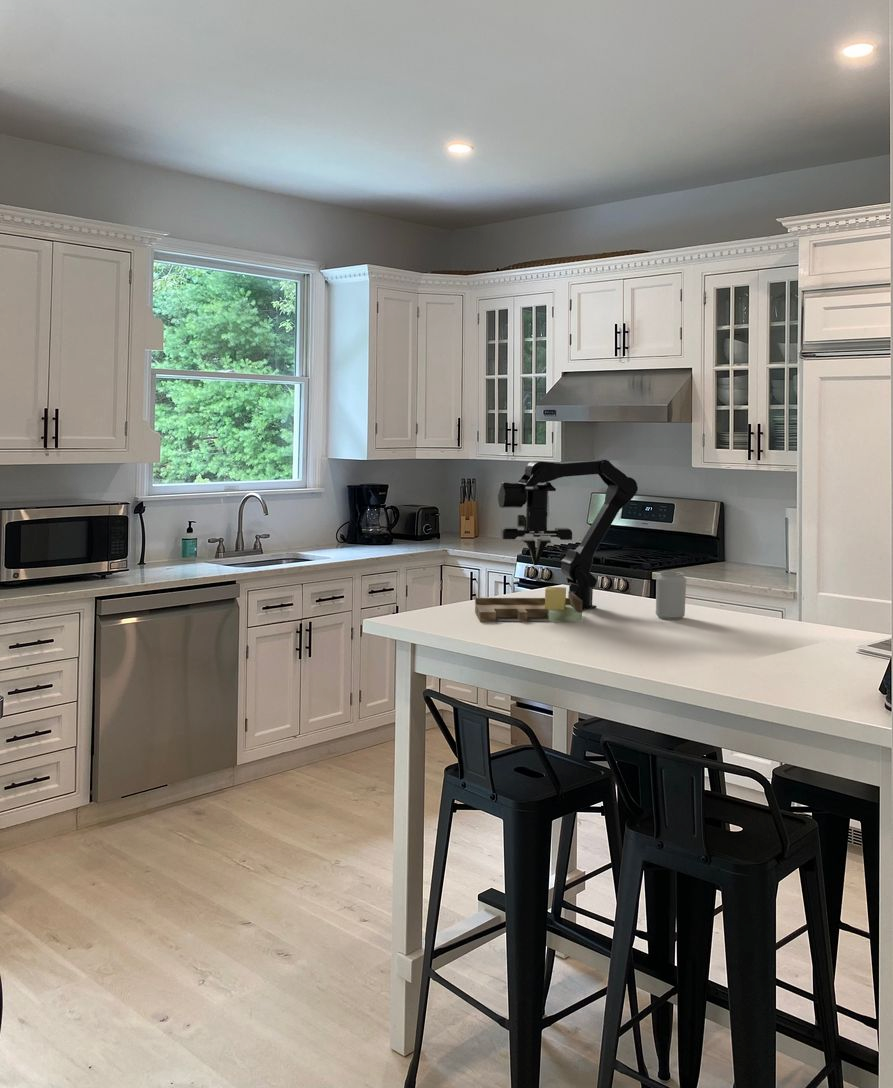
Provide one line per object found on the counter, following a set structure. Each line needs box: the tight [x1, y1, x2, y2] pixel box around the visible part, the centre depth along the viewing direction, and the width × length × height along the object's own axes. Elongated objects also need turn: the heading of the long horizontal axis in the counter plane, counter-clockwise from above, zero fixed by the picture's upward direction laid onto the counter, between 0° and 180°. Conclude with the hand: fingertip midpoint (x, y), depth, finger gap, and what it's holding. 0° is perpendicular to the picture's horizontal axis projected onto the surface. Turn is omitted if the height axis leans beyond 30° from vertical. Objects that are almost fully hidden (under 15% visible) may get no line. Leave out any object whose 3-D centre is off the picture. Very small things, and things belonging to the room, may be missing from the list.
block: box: [544, 586, 567, 610], centre depth 254 cm, size 5×5×5 cm
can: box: [655, 571, 687, 621], centre depth 256 cm, size 8×8×12 cm
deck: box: [474, 593, 583, 623], centre depth 254 cm, size 26×13×6 cm, turn 94°
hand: (535, 565), depth 265 cm, fingers closed
